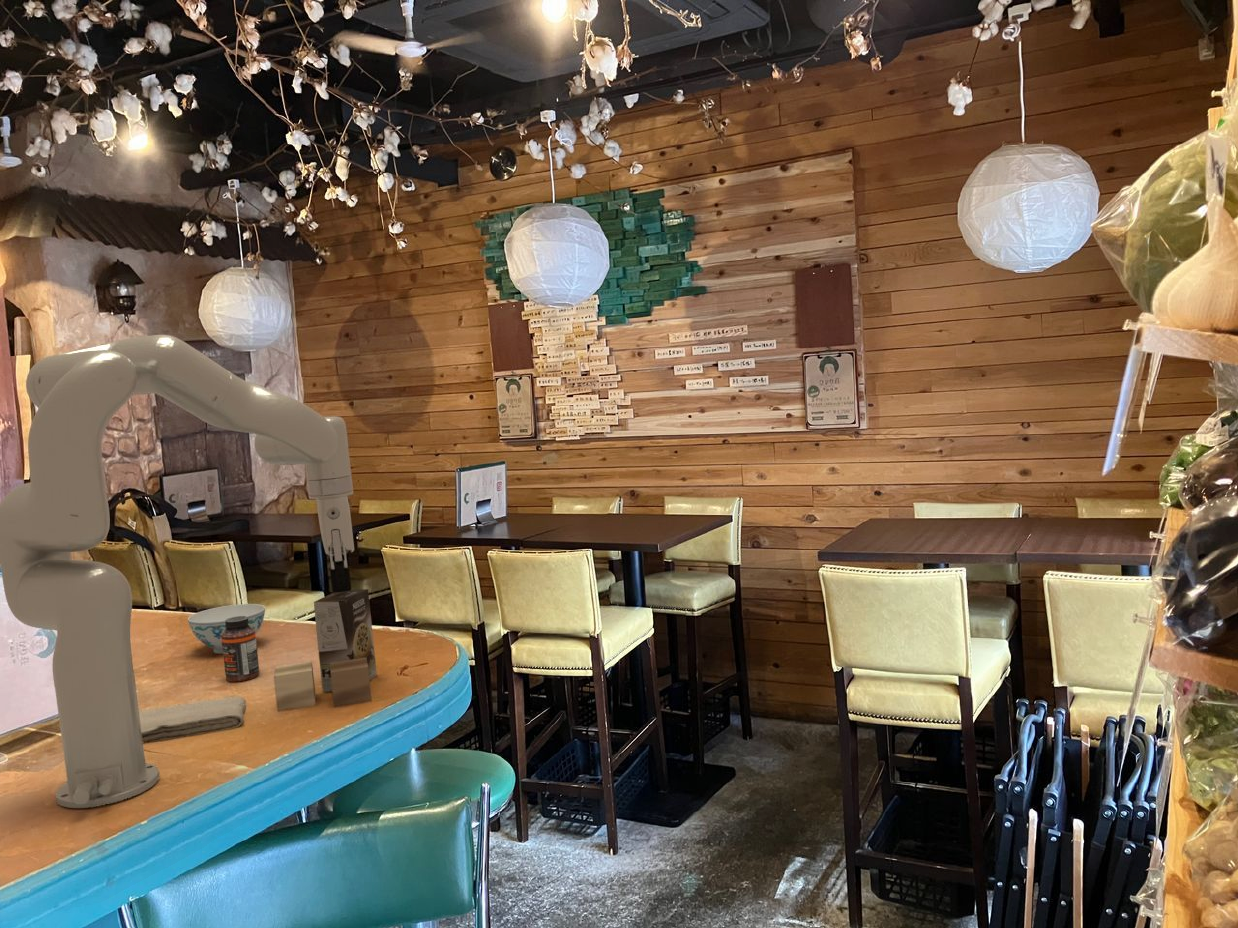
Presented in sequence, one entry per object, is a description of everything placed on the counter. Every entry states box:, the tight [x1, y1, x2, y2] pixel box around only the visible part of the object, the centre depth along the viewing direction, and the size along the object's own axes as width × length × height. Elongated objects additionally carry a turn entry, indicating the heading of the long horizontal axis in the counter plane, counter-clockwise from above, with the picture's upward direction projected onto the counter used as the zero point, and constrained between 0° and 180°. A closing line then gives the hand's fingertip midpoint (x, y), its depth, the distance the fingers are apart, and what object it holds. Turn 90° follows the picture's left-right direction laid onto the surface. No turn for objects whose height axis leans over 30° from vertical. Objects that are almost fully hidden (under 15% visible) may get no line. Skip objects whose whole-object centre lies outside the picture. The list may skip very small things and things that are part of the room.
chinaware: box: [187, 603, 266, 655], centre depth 204 cm, size 15×15×8 cm
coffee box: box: [313, 588, 378, 693], centre depth 173 cm, size 9×6×16 cm
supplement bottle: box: [221, 616, 260, 683], centre depth 183 cm, size 6×6×11 cm
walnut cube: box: [330, 658, 372, 708], centre depth 165 cm, size 6×6×6 cm
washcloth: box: [139, 695, 247, 743], centre depth 159 cm, size 12×18×3 cm, turn 108°
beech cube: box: [273, 660, 317, 712], centre depth 166 cm, size 6×6×6 cm
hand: (342, 590), depth 173 cm, fingers closed
